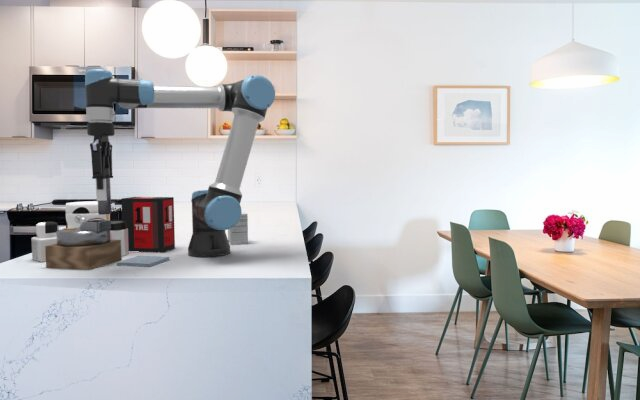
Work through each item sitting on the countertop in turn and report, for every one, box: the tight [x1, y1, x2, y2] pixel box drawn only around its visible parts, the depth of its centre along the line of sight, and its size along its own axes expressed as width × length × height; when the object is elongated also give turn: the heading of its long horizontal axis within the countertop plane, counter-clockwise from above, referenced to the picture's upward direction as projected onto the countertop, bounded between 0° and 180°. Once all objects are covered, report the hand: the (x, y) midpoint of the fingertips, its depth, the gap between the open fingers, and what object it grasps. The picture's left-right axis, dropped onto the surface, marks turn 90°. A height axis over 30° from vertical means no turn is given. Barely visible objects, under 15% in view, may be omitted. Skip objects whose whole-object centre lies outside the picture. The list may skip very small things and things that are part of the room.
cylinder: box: [98, 168, 112, 215], centre depth 152 cm, size 4×4×14 cm
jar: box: [110, 220, 130, 257], centre depth 180 cm, size 9×8×12 cm
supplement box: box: [227, 211, 249, 246], centre depth 205 cm, size 7×7×13 cm
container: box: [30, 221, 59, 263], centre depth 172 cm, size 8×8×13 cm
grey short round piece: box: [56, 217, 111, 246], centre depth 164 cm, size 16×16×8 cm
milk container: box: [64, 200, 111, 228], centre depth 193 cm, size 17×17×18 cm
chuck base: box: [45, 240, 122, 271], centre depth 164 cm, size 16×16×7 cm
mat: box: [116, 255, 171, 268], centre depth 166 cm, size 12×12×1 cm
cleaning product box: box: [120, 196, 176, 254], centre depth 189 cm, size 16×9×20 cm, turn 80°
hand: (103, 199), depth 152 cm, fingers closed on cylinder, 3 cm apart
